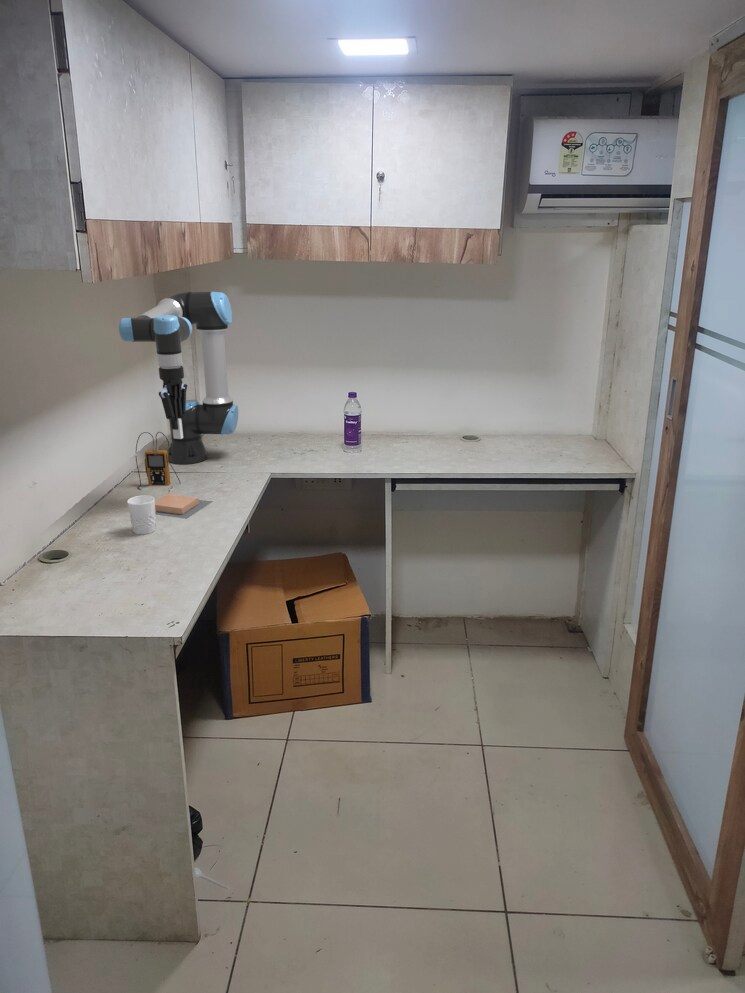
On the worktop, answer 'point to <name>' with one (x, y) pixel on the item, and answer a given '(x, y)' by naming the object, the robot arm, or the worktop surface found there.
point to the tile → (175, 504)
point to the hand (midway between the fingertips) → (178, 438)
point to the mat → (188, 513)
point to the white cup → (142, 514)
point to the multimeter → (156, 466)
